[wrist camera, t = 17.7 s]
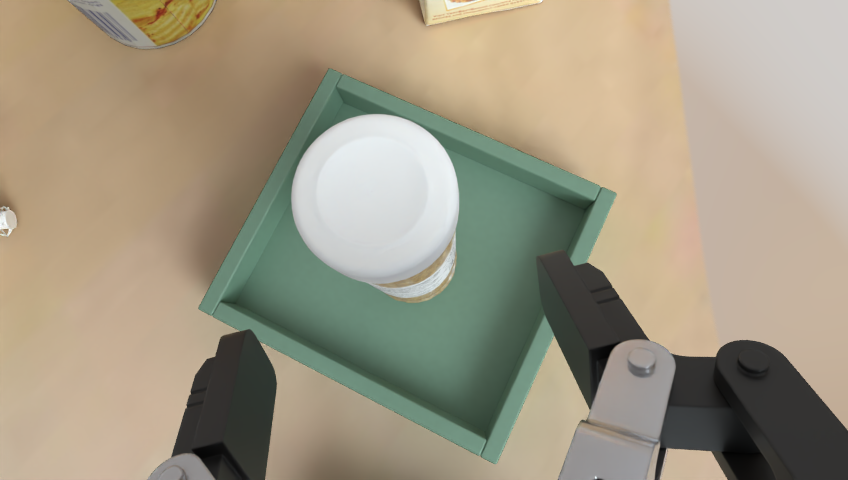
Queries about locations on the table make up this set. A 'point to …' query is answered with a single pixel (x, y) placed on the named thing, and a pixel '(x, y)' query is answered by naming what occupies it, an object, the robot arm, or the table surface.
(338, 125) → the spice jar
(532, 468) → the table surface
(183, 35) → the canned food
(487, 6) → the coffeecake box
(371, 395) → the tray
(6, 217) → the rocket engine
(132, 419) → the table surface
